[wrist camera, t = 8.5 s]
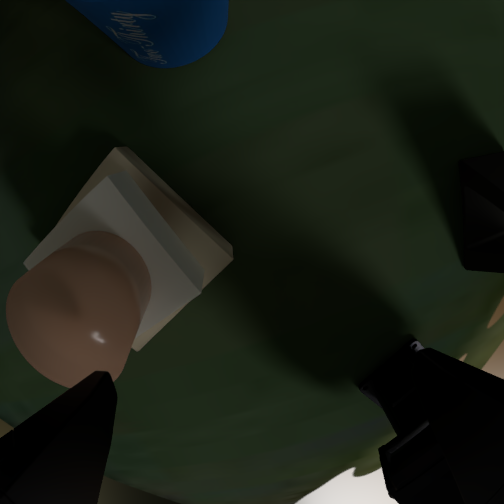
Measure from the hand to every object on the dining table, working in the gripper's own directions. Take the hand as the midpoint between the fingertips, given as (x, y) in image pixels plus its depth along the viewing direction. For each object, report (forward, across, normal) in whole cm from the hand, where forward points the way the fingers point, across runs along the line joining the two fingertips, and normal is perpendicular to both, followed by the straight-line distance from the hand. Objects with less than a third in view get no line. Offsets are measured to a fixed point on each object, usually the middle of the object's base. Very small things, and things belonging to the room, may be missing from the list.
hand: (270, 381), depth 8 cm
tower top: (+10, +7, 0) cm, 13 cm away
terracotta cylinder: (+7, +7, 0) cm, 10 cm away
